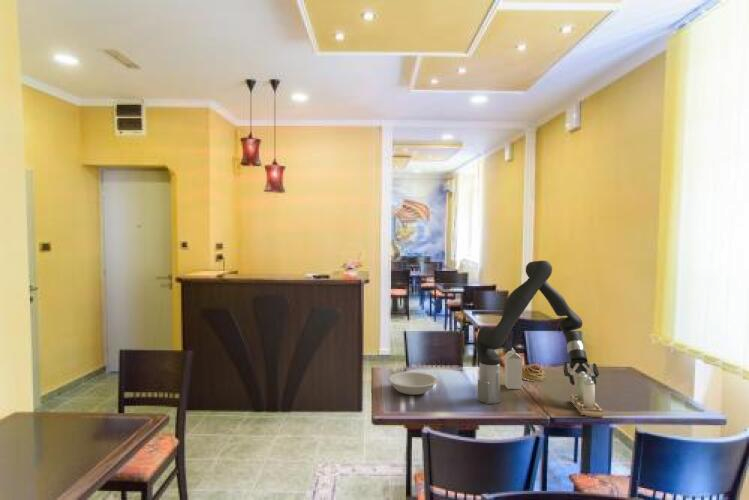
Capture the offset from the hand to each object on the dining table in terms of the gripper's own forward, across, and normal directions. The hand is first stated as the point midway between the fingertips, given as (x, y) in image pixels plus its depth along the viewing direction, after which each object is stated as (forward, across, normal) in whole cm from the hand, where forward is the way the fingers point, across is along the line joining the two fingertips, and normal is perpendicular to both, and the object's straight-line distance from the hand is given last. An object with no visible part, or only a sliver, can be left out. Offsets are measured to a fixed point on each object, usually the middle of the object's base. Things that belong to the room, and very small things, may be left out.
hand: (583, 384), depth 198 cm
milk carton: (-9, -27, +22) cm, 36 cm away
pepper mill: (+4, 0, +6) cm, 7 cm away
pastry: (-22, -14, +36) cm, 44 cm away
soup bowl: (+3, -76, +10) cm, 77 cm away
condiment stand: (+9, 0, +4) cm, 10 cm away
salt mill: (+10, 0, 0) cm, 11 cm away
